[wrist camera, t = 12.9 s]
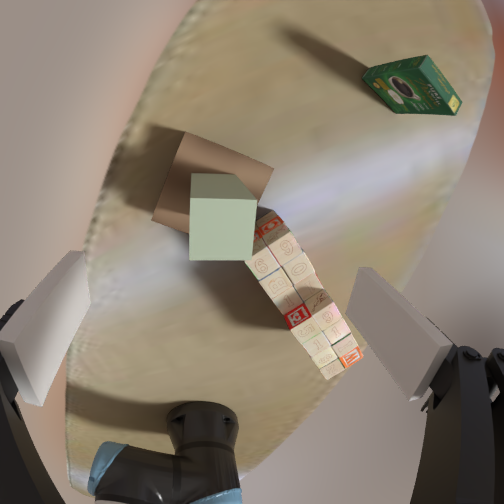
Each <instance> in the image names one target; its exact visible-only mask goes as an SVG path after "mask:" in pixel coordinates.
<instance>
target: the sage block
mask: <svg viewBox="0 0 504 504" xmlns="http://www.w3.org/2000/svg"><path fill="white" fill-rule="evenodd" d="M256 208H257V199H256V198H255V197H254V195H253V194H252V193H251V192H250V191H249V190H248V188H247V187H246V186H245V185H244V184H243V183H242V181H241V180H240V179H239V178H238V177H237V175H234V174H206V173H191V192H190V230H189V260H252V250H253V240H254V229H255V219H256Z"/></svg>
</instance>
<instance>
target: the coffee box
mask: <svg viewBox="0 0 504 504" xmlns="http://www.w3.org/2000/svg"><path fill="white" fill-rule="evenodd" d="M362 79H363V80H364V81H365V82H366V83H367V84H368V85H369V87H370V88H372V89H373V90H374V91H375V92H376V93H377V94H378V95H379V96H380V97H381V98H382V99H383V100H384V101H385V102H386V103H387V105H388V106H389V107H390V108H391V109H392V110H393V111H394V112H395V113H396V114H435V115H451V116H456V114H457V112H458V110H459V108H460V106H461V104H462V101H461V99H460V98H459V96H458V95H457V94H456V92H455V91H454V89H453V88H452V86H451V85H450V83H449V82H448V81H447V79H446V78H445V77H444V75H443V74H442V73H441V71H440V70H439V69H438V67H437V66H436V65H435V63H434V62H433V61H432V60H431V59H430V57H429V56H428V55H423V56H418V57H413V58H408V59H403V60H399V61H394V62H390V63H386V64H382V65H378V66H374V67H371V68H369V69H368V70H367V72H366V73H365V74H364V75H363V77H362Z"/></svg>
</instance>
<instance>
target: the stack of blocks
mask: <svg viewBox="0 0 504 504" xmlns="http://www.w3.org/2000/svg"><path fill="white" fill-rule="evenodd" d="M244 262H245V264H246V265H247V266H248V268H249V269H250V270H251V272H252V273H253V274H254V276H255V277H256V278H257V279H258V282H259V283H260V285H261V286H262V287H263V289H264V290H265V291H266V293H267V294H268V296H269V297H270V298H271V300H272V301H273V302H274V304H275V305H276V307H277V308H278V309H279V311H280V312H281V313H282V314H283V316H284V319H285V321H286V323H287V325H288V327H289V329H290V331H291V332H292V334H293V335H294V336H295V337H296V339H297V340H298V341H299V343H300V344H302V345H303V347H304V348H305V350H306V351H307V352H308V354H309V356H310V358H311V359H312V360H313V362H314V363H315V364H316V366H317V367H318V368H319V370H320V372H321V373H322V374H323V376H324V377H325V379H326V380H328V379H329V378H331V377H333V376H334V375H336V374H338V373H340V372H341V371H343V370H344V369H345V368H348V367H349V366H351V365H352V364H354V363H355V362H357V361H358V360H360V359H361V358H363V354H362V352H361V351H360V349H359V347H358V344H357V342H356V341H355V339H354V337H353V335H352V334H351V330H350V329H349V327H348V325H347V323H346V322H345V320H344V318H343V317H342V315H341V314H340V312H339V310H338V308H337V307H336V305H335V303H334V302H333V300H332V299H331V298H330V296H329V295H328V293H327V292H326V291H325V289H324V287H323V286H322V284H321V282H320V280H319V278H318V277H317V275H316V273H315V270H314V268H313V266H312V264H311V262H310V261H309V259H308V257H307V255H306V254H305V252H304V251H303V249H302V248H301V247H300V246H299V244H298V242H297V241H296V239H295V237H294V236H293V234H292V232H291V231H290V230H289V228H288V227H287V226H286V224H285V223H284V221H283V220H282V219H281V218H280V217H279V216H278V215H277V214H276V213H275V211H274V210H272V211H271V212H269V213H268V214H266V215H265V216H263V217H262V218H260V219H258V220H257V221H255V229H254V240H253V250H252V260H244Z"/></svg>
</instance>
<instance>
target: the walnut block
mask: <svg viewBox="0 0 504 504" xmlns="http://www.w3.org/2000/svg"><path fill="white" fill-rule="evenodd" d="M273 170H274V168H272V167H270V166H268V165H265V164H263V163H261V162H259V161H256V160H254V159H252V158H250V157H247V156H245V155H243V154H240V153H238V152H236V151H233V150H231V149H228V148H226V147H224V146H221V145H219V144H216V143H214V142H211V141H209V140H206V139H204V138H201V137H198V136H196V135H193V134H191V133H188V132H185V134H184V136H183V139H182V141H181V144H180V146H179V148H178V151H177V153H176V156H175V158H174V160H173V163H172V165H171V168H170V170H169V173H168V176H167V178H166V181H165V183H164V186H163V189H162V191H161V194H160V197H159V200H158V202H157V205H156V208H155V211H154V214H153V217H152V221H155V222H157V223H160V224H163V225H166V226H168V227H171V228H174V229H177V230H179V231H182V232H185V233H188V234H189V230H190V192H191V173H206V174H234V175H237V177H238V178H239V179H240V180H241V181H242V183H243V184H244V185H245V186H246V187H247V188H248V190H249V191H250V192H251V193H252V194H253V195H254V197H255V198H256V199H257V205H258V202H259V200H260V198H261V196H262V194H263V192H264V189H265V187H266V185H267V183H268V181H269V179H270V176H271V174H272V172H273Z"/></svg>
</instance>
